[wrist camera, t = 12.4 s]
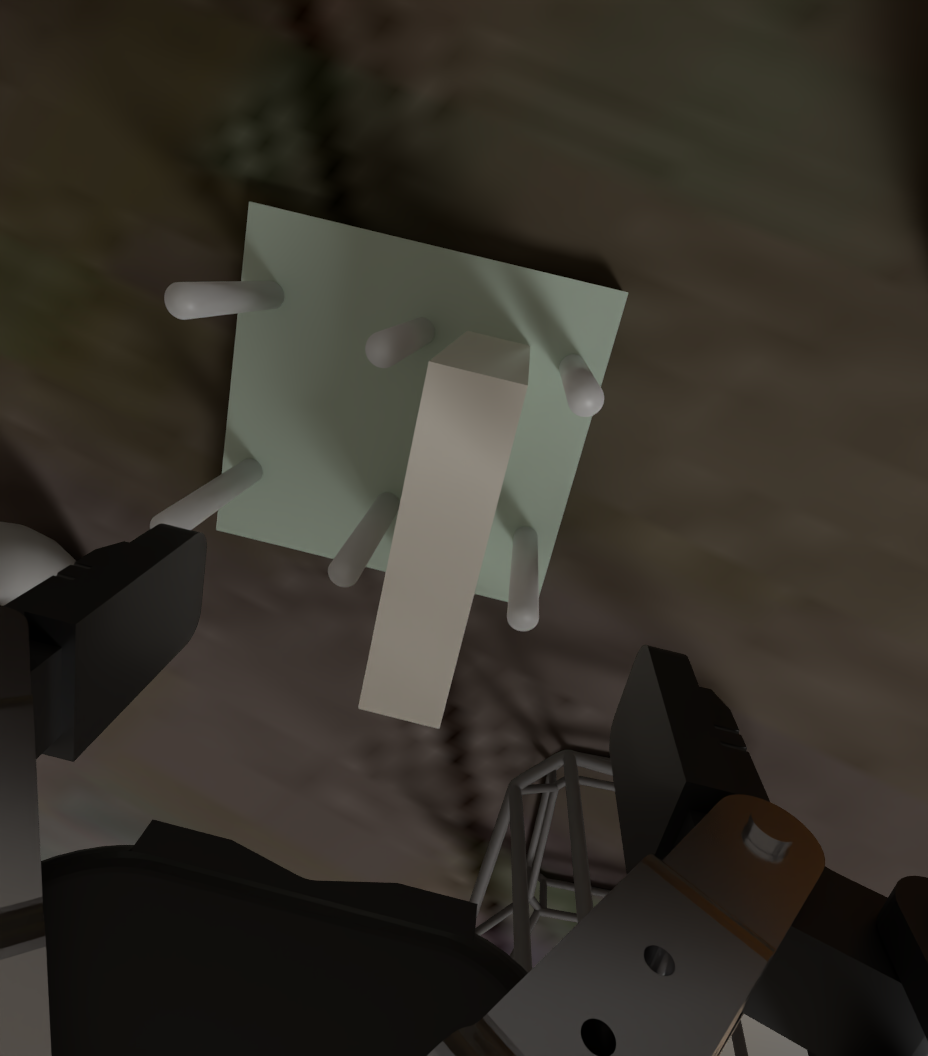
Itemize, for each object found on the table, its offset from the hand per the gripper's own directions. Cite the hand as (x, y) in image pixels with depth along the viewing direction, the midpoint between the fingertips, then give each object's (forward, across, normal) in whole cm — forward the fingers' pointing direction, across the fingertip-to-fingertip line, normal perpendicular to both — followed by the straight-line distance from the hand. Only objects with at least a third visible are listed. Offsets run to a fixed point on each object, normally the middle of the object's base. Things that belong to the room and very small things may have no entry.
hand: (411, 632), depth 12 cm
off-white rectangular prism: (+15, 0, +1) cm, 16 cm away
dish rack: (+17, +3, 0) cm, 17 cm away
